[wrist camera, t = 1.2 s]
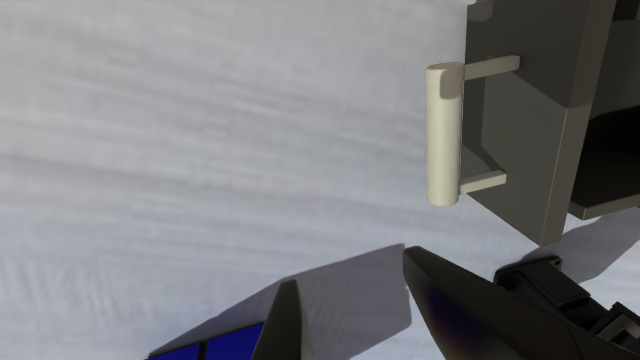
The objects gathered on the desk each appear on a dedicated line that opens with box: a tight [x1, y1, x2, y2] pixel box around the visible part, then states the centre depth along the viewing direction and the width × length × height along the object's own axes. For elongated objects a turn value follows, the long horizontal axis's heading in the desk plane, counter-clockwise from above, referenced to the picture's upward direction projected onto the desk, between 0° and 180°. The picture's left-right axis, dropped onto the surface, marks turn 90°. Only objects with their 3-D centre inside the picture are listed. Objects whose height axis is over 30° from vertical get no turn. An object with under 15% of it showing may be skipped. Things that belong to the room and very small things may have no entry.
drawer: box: [425, 0, 640, 246], centre depth 16 cm, size 18×11×7 cm, turn 100°
